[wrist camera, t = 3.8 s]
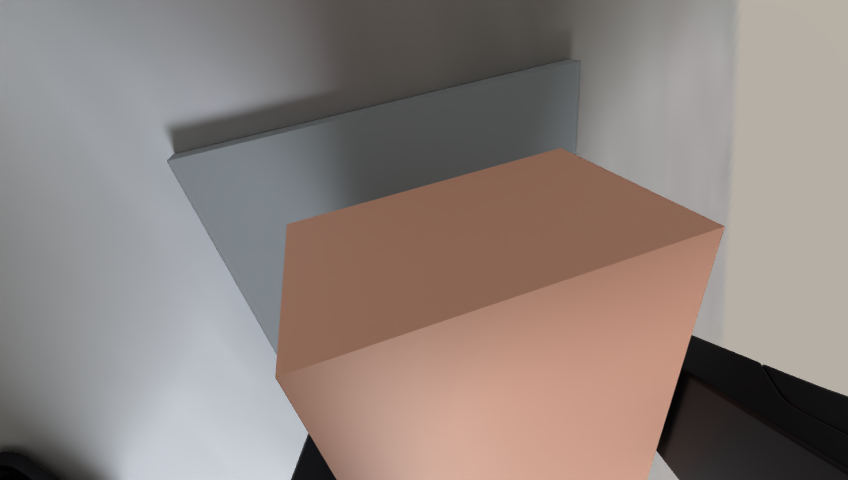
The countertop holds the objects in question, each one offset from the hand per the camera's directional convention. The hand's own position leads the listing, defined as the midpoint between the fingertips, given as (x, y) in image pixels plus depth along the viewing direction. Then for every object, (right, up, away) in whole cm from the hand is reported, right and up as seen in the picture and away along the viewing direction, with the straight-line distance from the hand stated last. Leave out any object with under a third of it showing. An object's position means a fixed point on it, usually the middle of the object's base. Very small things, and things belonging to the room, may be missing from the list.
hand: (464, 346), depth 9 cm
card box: (0, 0, 0) cm, 0 cm away
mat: (-1, -1, +5) cm, 5 cm away
